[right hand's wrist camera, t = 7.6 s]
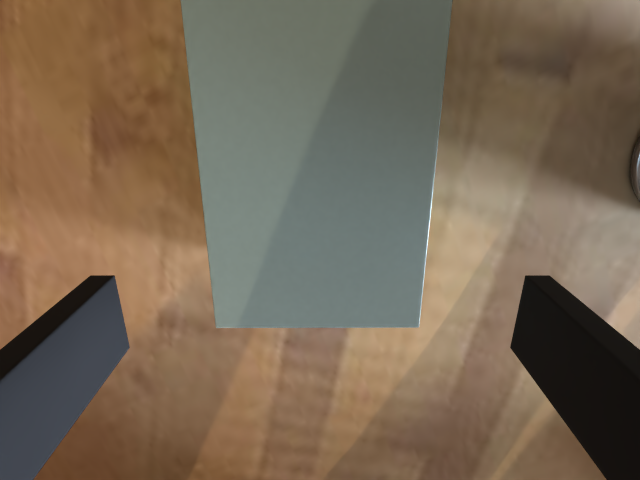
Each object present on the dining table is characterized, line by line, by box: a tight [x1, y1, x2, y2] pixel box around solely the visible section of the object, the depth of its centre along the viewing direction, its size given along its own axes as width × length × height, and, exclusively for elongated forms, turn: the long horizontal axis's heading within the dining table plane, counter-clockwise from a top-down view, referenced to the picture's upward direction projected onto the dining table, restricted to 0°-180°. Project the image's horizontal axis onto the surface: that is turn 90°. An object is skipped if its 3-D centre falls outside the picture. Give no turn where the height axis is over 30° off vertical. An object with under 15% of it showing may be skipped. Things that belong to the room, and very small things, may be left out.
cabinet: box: [181, 0, 452, 328], centre depth 21 cm, size 21×10×9 cm, turn 0°
